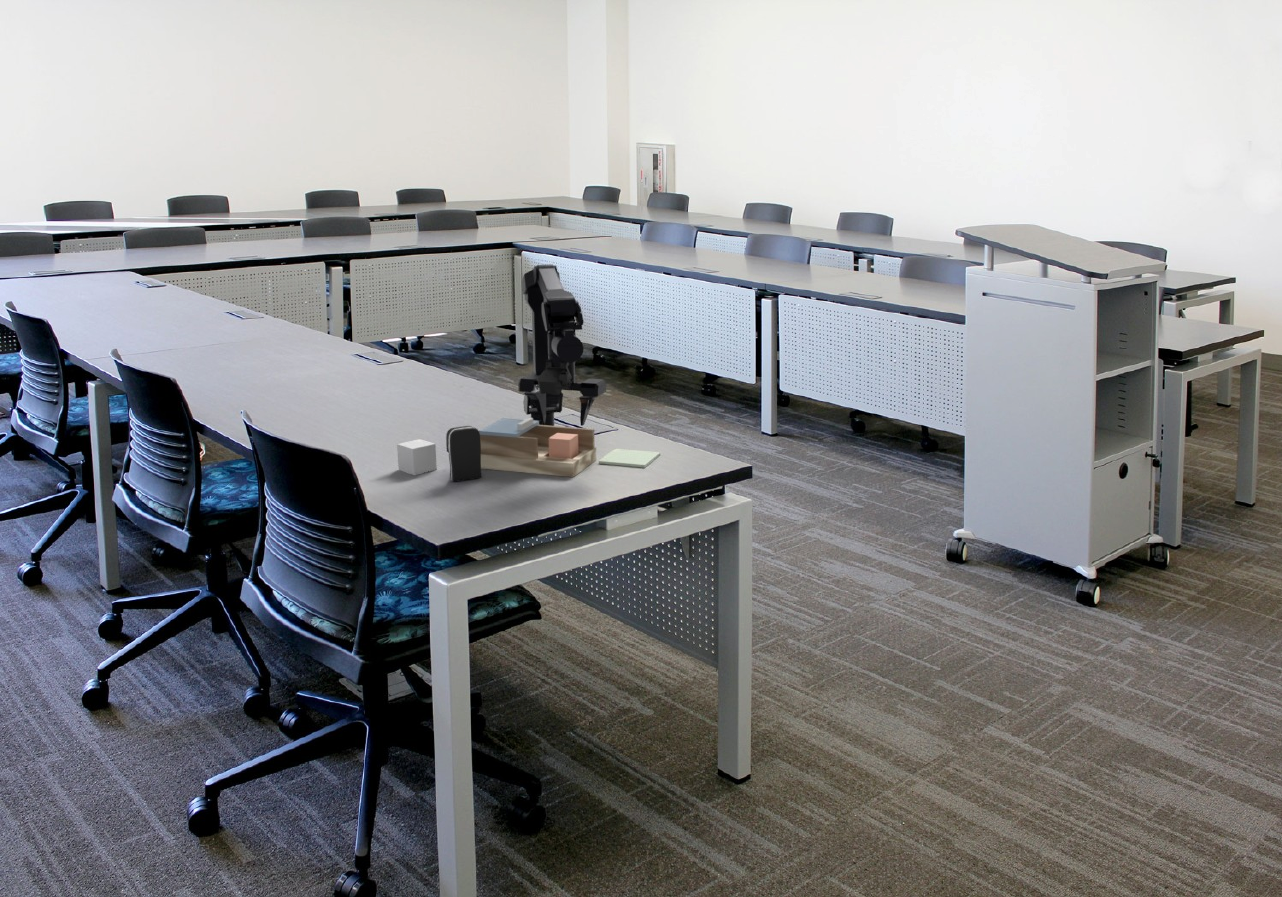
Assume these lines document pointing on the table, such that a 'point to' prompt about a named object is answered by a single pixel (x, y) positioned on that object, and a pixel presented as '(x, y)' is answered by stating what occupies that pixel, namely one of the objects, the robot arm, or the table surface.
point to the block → (563, 445)
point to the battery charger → (464, 453)
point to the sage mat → (629, 458)
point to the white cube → (416, 456)
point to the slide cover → (509, 427)
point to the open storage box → (537, 452)
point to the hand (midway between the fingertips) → (563, 423)
